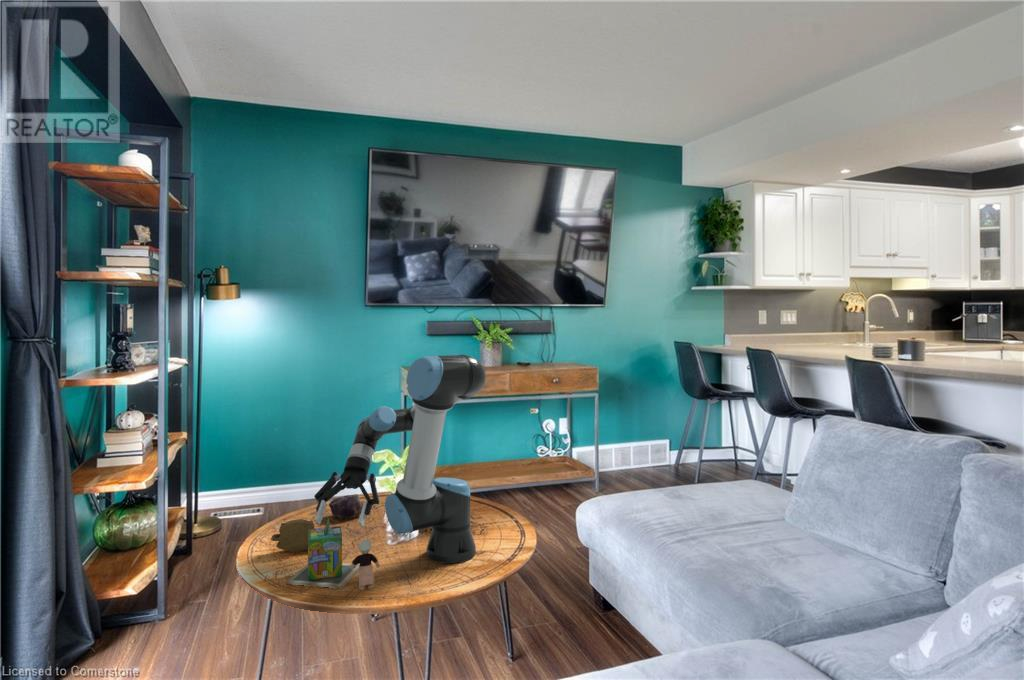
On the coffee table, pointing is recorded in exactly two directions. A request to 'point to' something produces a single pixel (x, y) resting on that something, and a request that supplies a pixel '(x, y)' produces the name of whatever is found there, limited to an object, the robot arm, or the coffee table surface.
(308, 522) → the wooden carving
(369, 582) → the grandmother figurine
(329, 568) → the chalk box
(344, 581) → the chalkboard
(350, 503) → the rock
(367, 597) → the coffee table surface
